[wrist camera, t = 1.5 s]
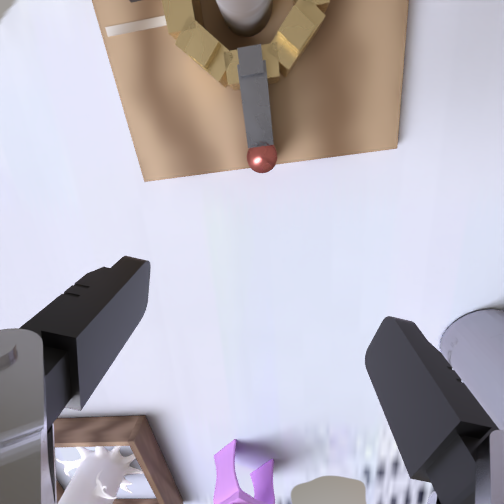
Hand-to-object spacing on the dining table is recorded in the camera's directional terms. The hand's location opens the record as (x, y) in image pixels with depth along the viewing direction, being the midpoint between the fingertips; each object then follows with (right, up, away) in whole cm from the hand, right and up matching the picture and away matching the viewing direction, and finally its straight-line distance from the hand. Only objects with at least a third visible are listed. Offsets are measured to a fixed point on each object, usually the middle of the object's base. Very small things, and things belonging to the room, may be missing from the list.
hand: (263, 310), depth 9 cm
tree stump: (-28, -37, +42) cm, 62 cm away
